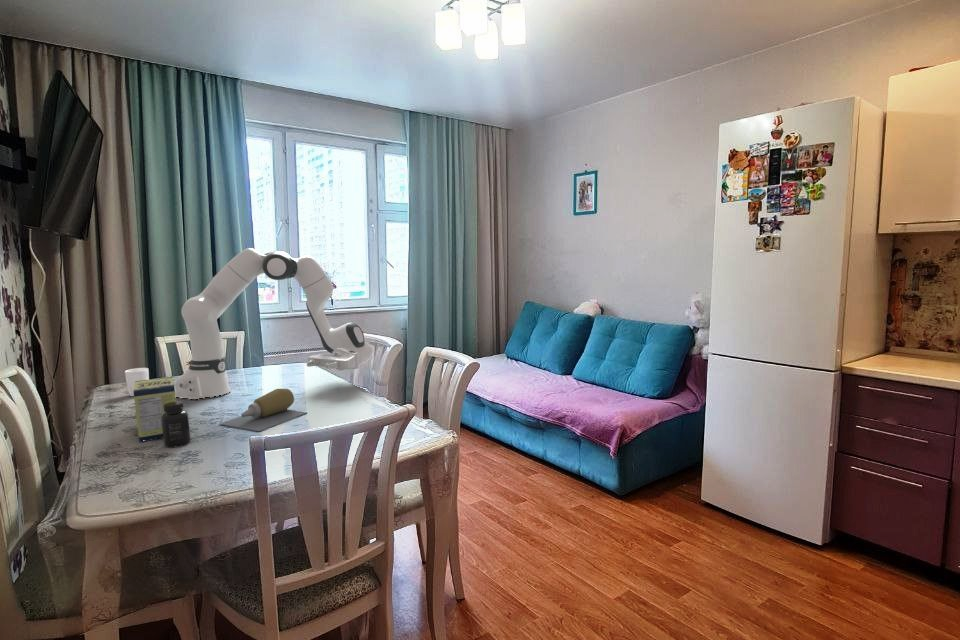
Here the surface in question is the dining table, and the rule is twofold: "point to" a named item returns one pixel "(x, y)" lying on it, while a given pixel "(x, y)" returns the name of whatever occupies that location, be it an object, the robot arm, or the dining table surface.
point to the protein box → (152, 405)
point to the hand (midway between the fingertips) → (317, 365)
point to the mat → (263, 420)
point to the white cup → (135, 377)
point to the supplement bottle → (175, 425)
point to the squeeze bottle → (270, 403)
